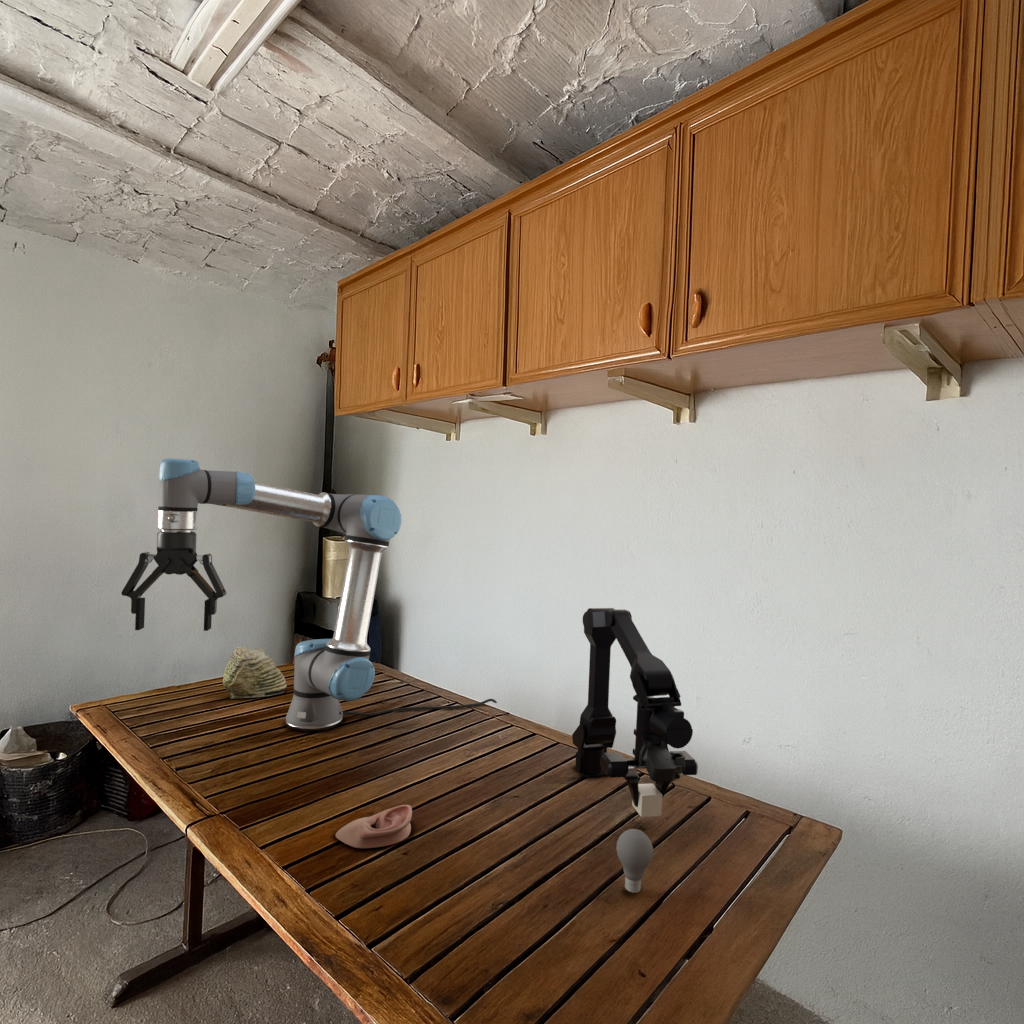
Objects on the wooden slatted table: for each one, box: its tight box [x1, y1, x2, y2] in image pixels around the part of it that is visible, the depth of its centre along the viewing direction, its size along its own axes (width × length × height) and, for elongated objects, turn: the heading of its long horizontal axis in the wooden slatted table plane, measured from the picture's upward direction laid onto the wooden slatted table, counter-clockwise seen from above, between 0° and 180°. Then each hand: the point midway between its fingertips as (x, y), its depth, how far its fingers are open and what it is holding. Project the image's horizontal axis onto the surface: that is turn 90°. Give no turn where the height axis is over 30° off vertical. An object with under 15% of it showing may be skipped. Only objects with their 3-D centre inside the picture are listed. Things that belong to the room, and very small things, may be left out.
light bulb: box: [615, 828, 654, 894], centre depth 106 cm, size 6×6×10 cm
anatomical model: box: [335, 804, 413, 849], centre depth 120 cm, size 13×4×12 cm
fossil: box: [222, 646, 288, 699], centre depth 198 cm, size 9×18×15 cm, turn 132°
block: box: [631, 783, 663, 818], centre depth 128 cm, size 4×5×4 cm
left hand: (173, 629), depth 136 cm, fingers open, 13 cm apart
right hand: (646, 805), depth 128 cm, fingers closed on block, 4 cm apart
